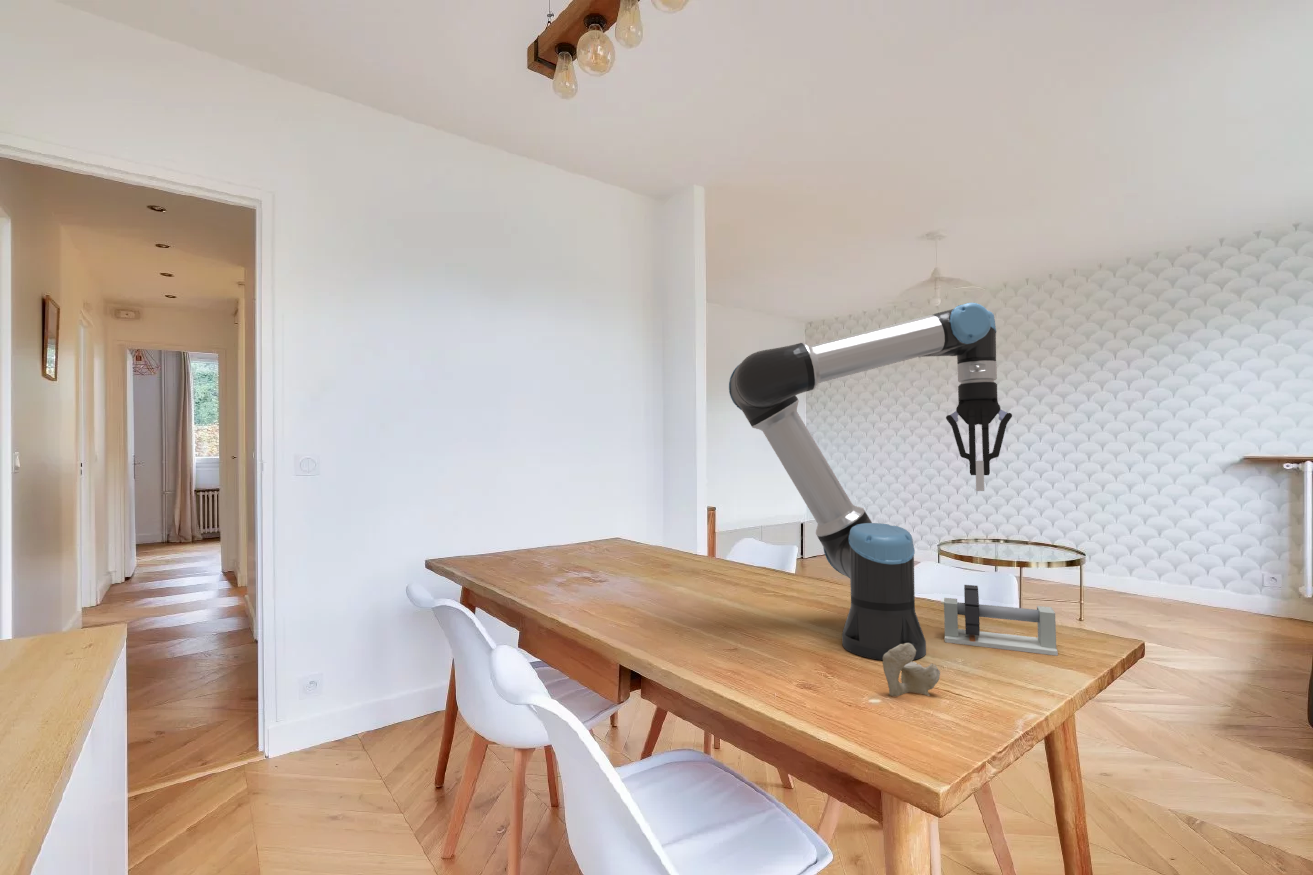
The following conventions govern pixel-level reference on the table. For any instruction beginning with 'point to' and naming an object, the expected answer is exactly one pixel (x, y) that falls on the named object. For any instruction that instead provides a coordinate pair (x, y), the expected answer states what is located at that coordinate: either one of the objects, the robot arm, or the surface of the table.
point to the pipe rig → (998, 640)
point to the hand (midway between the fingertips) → (980, 490)
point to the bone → (908, 672)
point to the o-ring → (971, 610)
